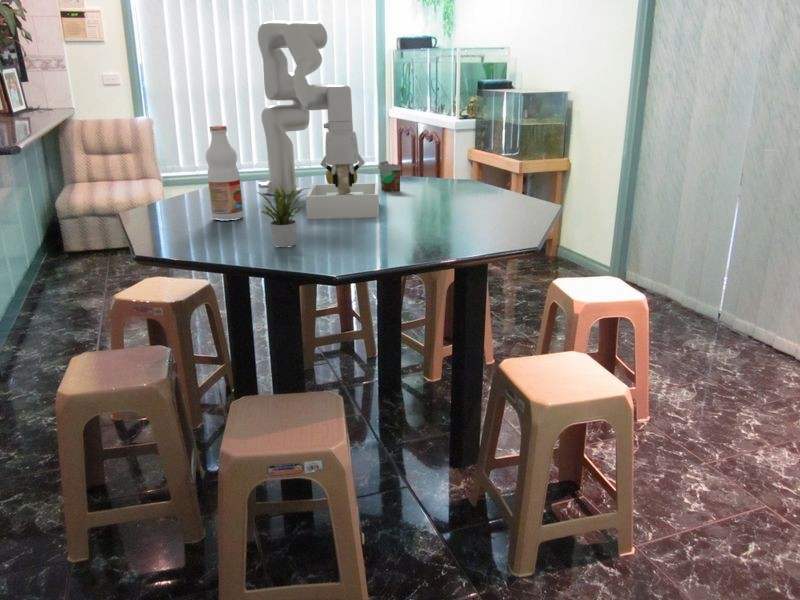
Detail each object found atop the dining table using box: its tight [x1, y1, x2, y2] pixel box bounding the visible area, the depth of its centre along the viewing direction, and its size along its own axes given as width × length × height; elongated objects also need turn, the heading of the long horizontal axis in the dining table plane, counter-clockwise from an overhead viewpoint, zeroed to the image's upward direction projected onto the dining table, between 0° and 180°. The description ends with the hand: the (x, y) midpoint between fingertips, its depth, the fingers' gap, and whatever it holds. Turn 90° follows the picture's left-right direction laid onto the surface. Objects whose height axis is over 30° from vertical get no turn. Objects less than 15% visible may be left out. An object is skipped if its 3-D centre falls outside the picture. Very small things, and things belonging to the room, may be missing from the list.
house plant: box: [256, 184, 309, 247], centre depth 166 cm, size 14×14×16 cm
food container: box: [377, 160, 402, 192], centre depth 243 cm, size 12×6×10 cm, turn 25°
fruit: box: [325, 165, 358, 184], centre depth 245 cm, size 11×12×10 cm
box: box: [305, 182, 380, 220], centre depth 208 cm, size 22×22×7 cm
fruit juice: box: [205, 125, 244, 219], centre depth 198 cm, size 9×9×28 cm
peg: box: [336, 165, 351, 194], centre depth 206 cm, size 4×4×10 cm
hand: (343, 185), depth 207 cm, fingers closed on peg, 4 cm apart
